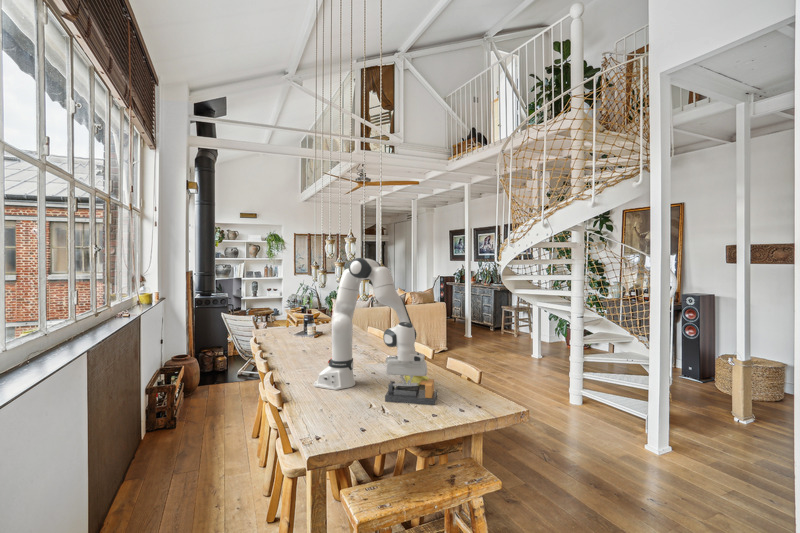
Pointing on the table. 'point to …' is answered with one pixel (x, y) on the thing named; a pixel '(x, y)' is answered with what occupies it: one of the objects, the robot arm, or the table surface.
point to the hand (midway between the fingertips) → (406, 384)
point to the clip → (428, 387)
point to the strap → (404, 384)
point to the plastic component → (416, 379)
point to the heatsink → (408, 395)
